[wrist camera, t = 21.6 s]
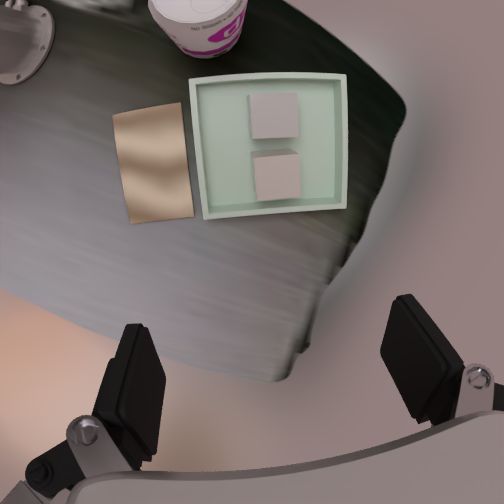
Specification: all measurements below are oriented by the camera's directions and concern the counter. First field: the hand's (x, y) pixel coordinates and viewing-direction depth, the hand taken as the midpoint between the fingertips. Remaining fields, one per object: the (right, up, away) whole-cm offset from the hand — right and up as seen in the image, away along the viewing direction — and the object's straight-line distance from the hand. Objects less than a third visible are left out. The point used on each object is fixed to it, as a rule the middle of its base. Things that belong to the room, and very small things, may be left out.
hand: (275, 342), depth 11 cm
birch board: (-13, +14, +26) cm, 32 cm away
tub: (+1, +17, +25) cm, 31 cm away
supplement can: (-6, +30, +18) cm, 36 cm away
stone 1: (+1, +20, +23) cm, 31 cm away
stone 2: (+2, +14, +27) cm, 30 cm away
